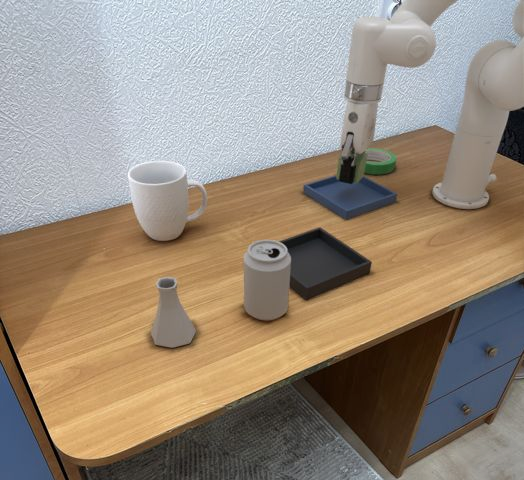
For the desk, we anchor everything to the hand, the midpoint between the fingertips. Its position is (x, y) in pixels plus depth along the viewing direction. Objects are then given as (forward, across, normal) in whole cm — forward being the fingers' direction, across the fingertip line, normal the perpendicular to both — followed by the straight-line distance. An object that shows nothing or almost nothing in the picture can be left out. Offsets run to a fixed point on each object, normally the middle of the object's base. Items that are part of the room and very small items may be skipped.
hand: (350, 176), depth 115 cm
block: (0, 0, 0) cm, 0 cm away
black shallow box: (+5, -30, -3) cm, 31 cm away
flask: (+6, -59, +10) cm, 60 cm away
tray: (+5, 0, 0) cm, 5 cm away
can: (+5, -46, -1) cm, 47 cm away
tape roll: (+5, +20, 0) cm, 21 cm away
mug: (+6, -32, +28) cm, 43 cm away
